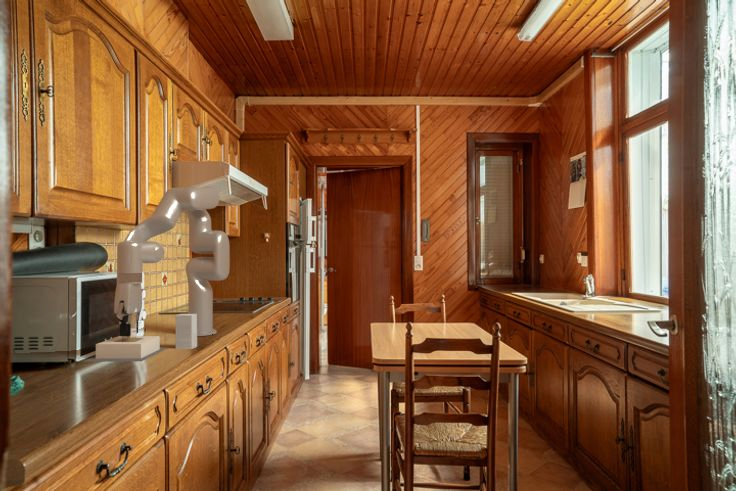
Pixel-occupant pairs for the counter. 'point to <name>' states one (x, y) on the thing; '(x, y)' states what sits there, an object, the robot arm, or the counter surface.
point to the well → (127, 347)
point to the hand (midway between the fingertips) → (129, 334)
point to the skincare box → (186, 331)
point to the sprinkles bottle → (133, 328)
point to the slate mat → (125, 358)
